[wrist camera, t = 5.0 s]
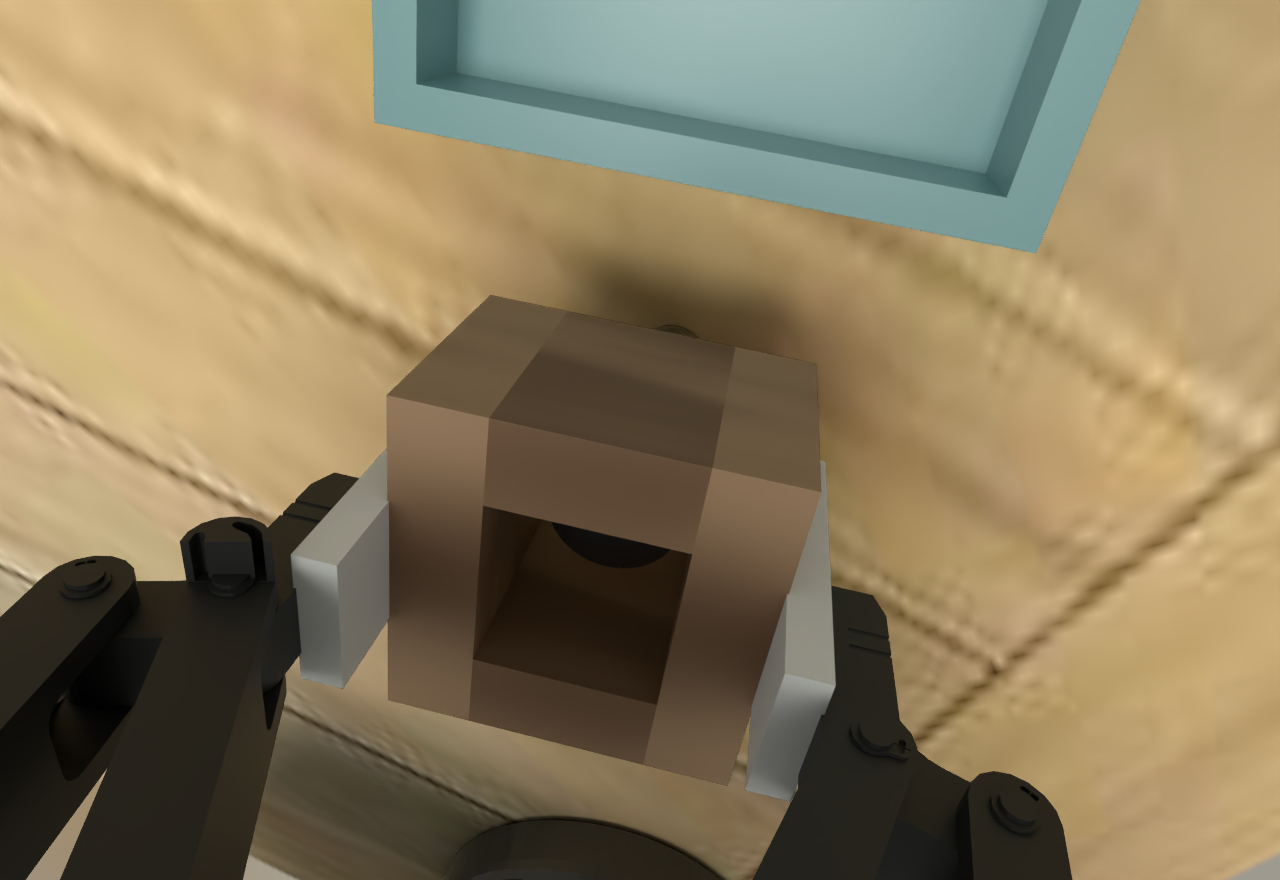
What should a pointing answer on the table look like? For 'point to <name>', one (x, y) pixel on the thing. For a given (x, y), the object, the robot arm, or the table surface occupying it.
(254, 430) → the table surface
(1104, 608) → the table surface
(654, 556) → the metal bolt
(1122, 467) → the table surface
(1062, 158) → the tray
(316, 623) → the robot arm
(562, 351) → the collar
